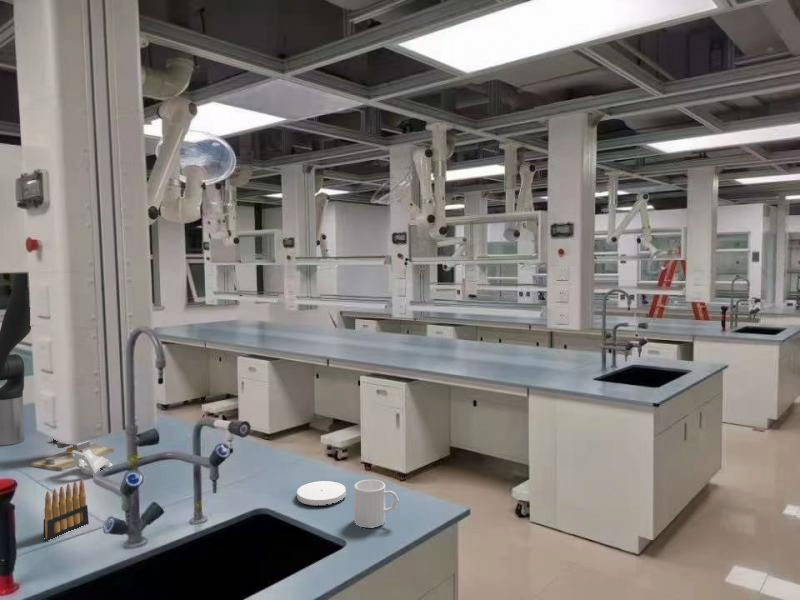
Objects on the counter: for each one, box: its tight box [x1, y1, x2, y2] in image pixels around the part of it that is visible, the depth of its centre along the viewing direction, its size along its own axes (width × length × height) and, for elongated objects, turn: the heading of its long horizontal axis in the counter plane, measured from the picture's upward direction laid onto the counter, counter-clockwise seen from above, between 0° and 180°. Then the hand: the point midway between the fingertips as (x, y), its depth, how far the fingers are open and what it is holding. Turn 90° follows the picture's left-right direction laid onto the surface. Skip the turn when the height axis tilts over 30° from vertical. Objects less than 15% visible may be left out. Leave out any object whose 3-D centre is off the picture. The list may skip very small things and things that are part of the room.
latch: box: [65, 446, 81, 452], centre depth 197 cm, size 3×3×1 cm
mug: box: [353, 479, 400, 527], centre depth 147 cm, size 8×12×10 cm
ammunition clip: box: [43, 478, 90, 541], centre depth 142 cm, size 11×2×12 cm, turn 154°
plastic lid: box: [296, 480, 347, 506], centre depth 163 cm, size 14×14×2 cm
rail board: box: [30, 442, 115, 471], centre depth 197 cm, size 14×21×2 cm, turn 161°
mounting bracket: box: [71, 449, 114, 477], centre depth 184 cm, size 12×6×11 cm, turn 58°
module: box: [56, 440, 91, 450], centre depth 197 cm, size 9×5×8 cm, turn 71°
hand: (73, 440), depth 197 cm, fingers closed on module, 5 cm apart
